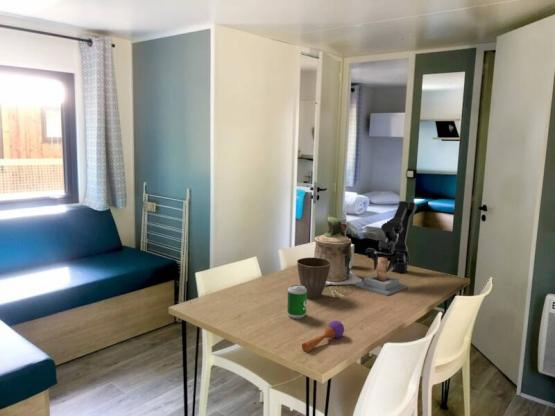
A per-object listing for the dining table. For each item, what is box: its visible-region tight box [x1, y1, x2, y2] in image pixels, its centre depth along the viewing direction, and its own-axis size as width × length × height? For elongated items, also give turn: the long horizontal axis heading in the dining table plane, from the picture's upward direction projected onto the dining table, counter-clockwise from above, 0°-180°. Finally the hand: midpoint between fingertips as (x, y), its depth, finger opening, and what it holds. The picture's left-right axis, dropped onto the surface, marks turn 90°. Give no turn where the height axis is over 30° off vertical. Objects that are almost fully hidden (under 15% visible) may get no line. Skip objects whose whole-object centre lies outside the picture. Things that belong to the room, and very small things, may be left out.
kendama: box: [301, 320, 345, 353], centre depth 158 cm, size 6×6×20 cm
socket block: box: [354, 273, 408, 296], centre depth 219 cm, size 18×18×4 cm
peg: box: [376, 256, 389, 282], centre depth 218 cm, size 4×4×13 cm
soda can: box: [286, 284, 308, 320], centre depth 181 cm, size 8×8×12 cm
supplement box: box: [349, 243, 355, 270], centre depth 252 cm, size 7×7×13 cm
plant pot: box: [296, 257, 331, 300], centre depth 203 cm, size 15×15×16 cm
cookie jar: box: [313, 215, 363, 286], centre depth 230 cm, size 25×25×32 cm
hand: (381, 270), depth 217 cm, fingers open, 6 cm apart
